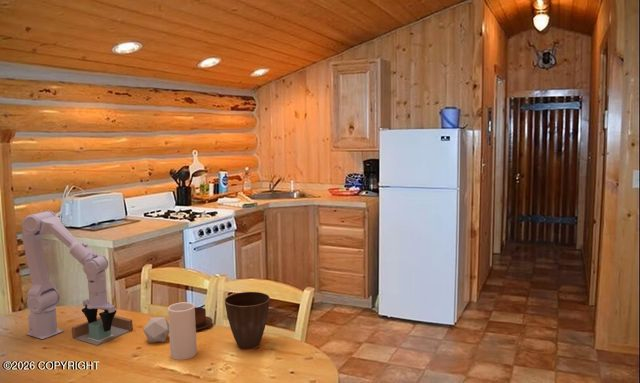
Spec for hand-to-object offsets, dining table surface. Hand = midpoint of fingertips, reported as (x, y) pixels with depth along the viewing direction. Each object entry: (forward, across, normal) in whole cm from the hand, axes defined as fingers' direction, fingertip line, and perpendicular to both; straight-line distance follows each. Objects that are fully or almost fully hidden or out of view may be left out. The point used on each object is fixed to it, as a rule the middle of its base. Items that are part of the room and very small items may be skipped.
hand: (100, 328), depth 180 cm
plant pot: (+3, +50, +20) cm, 54 cm away
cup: (+3, +36, +4) cm, 36 cm away
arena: (+3, -2, +2) cm, 5 cm away
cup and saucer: (+4, +22, +24) cm, 33 cm away
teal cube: (+3, 0, 0) cm, 3 cm away
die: (+3, +20, +8) cm, 21 cm away
